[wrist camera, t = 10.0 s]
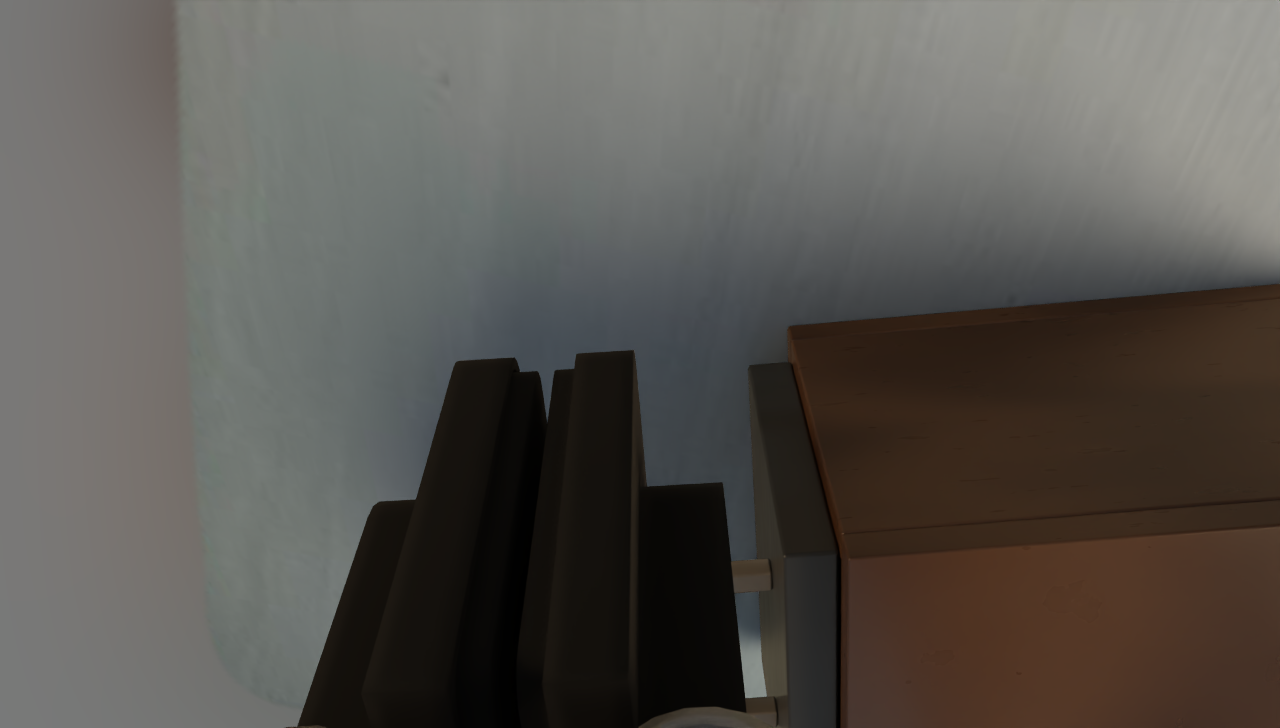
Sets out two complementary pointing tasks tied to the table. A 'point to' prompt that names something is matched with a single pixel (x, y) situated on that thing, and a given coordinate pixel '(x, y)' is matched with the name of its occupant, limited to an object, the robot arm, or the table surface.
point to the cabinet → (1054, 511)
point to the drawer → (791, 561)
